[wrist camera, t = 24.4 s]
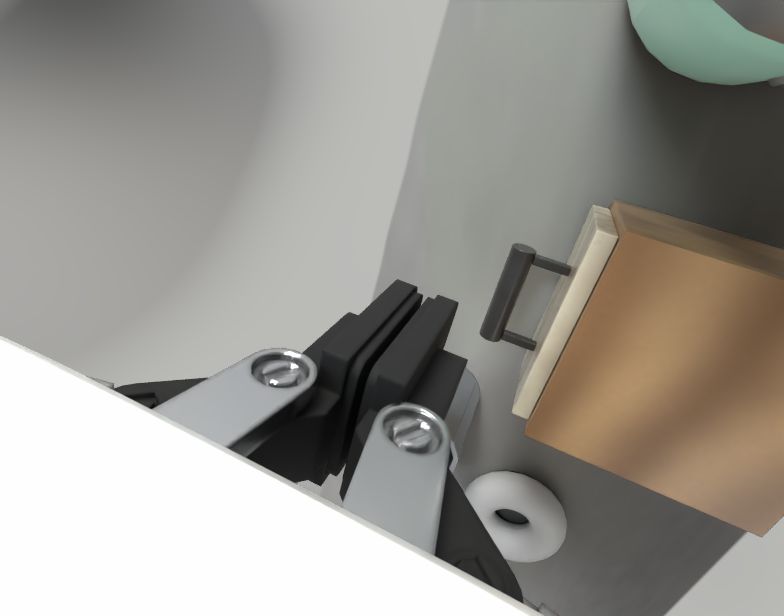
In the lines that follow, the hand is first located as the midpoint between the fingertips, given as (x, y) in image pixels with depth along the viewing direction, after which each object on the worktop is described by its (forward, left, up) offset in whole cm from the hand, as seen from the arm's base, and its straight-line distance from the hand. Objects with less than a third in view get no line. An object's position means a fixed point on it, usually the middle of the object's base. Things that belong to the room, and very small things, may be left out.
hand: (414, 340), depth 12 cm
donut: (+29, +10, -25) cm, 40 cm away
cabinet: (+6, +14, -25) cm, 29 cm away
